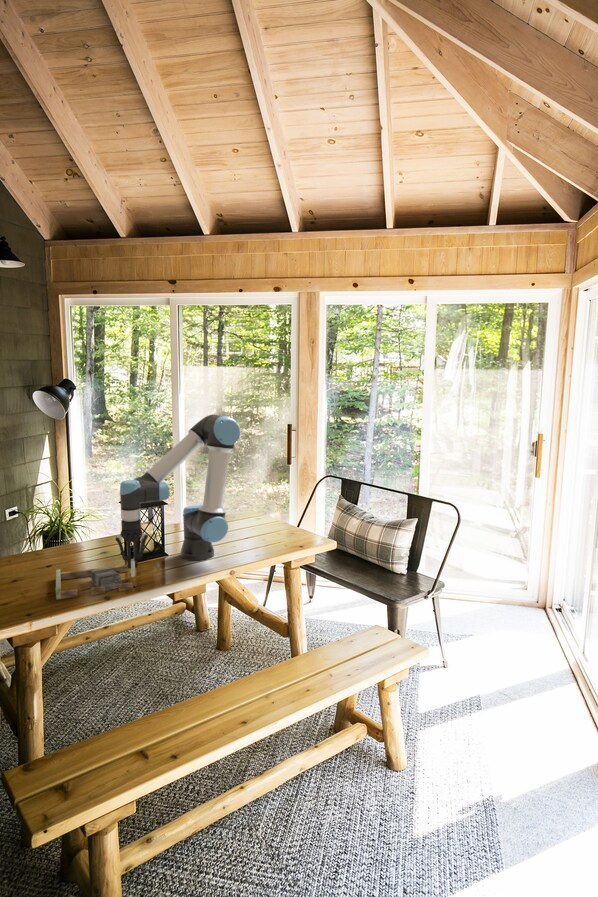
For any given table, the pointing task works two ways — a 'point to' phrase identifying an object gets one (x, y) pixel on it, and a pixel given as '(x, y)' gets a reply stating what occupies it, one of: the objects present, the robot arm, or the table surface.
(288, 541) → the table surface
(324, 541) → the table surface
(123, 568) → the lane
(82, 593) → the table surface
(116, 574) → the stone block
